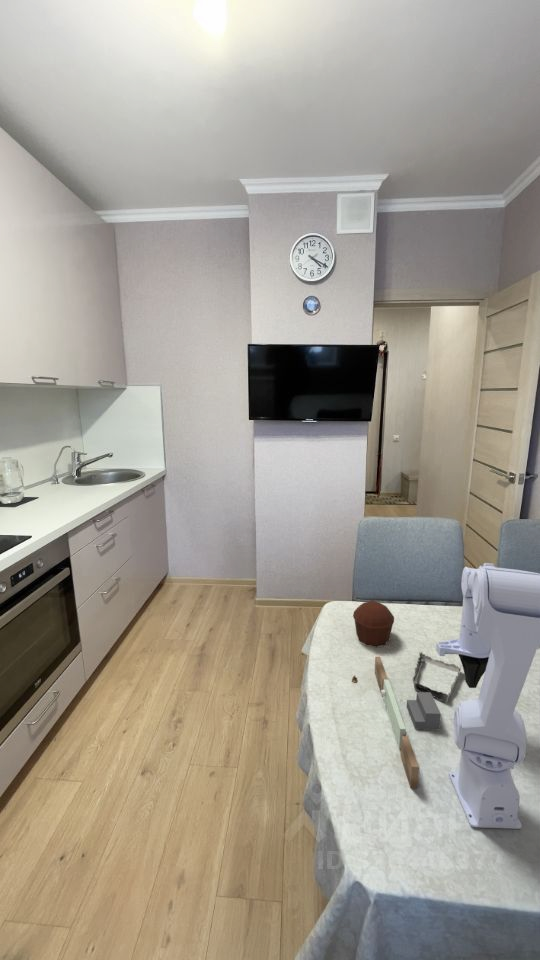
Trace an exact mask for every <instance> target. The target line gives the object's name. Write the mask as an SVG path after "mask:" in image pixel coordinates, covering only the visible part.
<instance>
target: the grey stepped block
mask: <svg viewBox="0 0 540 960" xmlns="http://www.w3.org/2000/svg"><path fill="white" fill-rule="evenodd" d="M434 698H435V697H434V696H432V694H431V692H419V691H416V699H407V700H406V710H407V712H408V714H409V717H410V720H411V722H412V726H413V727H414V729H415V730H440V727H441V717H442V713H441V711H440V709H439V706H438V705H437V703H436V700H435V699H434Z"/></svg>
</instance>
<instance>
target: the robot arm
mask: <svg viewBox="0 0 540 960" xmlns="http://www.w3.org/2000/svg"><path fill="white" fill-rule="evenodd" d="M460 584H461V593H462V597H463V598H462V599H463V600H462V608H461V617H460V618H461V621H460V630H459V631H460V633H459V637H458V638H454V639H451V640H446V641H437V642H436V648H435V650H436V653H437V654H438V656H439V657H445V655H457V656H458V658H459V659H460V662H461V663H460V664H461V667H462V669H463V673H464V680H465V684H466V685H467V686H468V688H469V689H476V688H477V687H478V685H479V683H480V680H481V679H482V678H483V679H482V682H481V687H480V690H479V693H478V698H475V699H469V700H468V699H467V700H462V701H460V702H459V705H458V706H457V708H456V709H454V713H453V714H454V715H453V738H454V744H455V745H456V746H457V749H459V750H460V758H459V759H460V760H459V769H458V770H450V771H448V776H449V778H450V780H451V781H450V782H452V785H453V787H454V789H455V790H454V791H455V792H456V795H457V797H458V799H459V801H460V802H459V803H460V804H461V806H462V809H463V811H464V813H465V816H466V818H467V820H468V823H469V825H470V827H472V828H484V829H485V828H486V829H487V828H488V829H517V830H518V829H521V828H522V823H521V821H520V819H519V817H518V814H519V809H520V807H519V805H520V799H521V797H520V793H519V790H518V788H517V786H516V783H514V779H513V776H512V770H514V769H515V768H514V767H515V764H519V765H520V764H522V762H523V761H524V759H525V757H526V750H527V748H526V745H527V741H528V739H527V732H526V731H527V730H526V726H525V721H524V719H523V718H522V714H520V713H519V712H518V711H516V710H515V709H516V707H517V704H518V702H519V699H520V696H521V693H522V690H523V688H524V686H525V682H526V680H527V677H528V674H529V671H530V670H531V669H530V668H531V666H532V663H533V660H534V657H535V655H536V652H537V651H538V650H539V649H540V572H539V573H538V572H533V571H527V570H520V569H516V568H515V569H513V568H504V567H497V566H495V563H488V562H484V563H483V565H479V567H478V568H473V567H472V568H471V567H468V566H464V568H463V569H462V574H461V583H460ZM511 769H512V770H511Z"/></svg>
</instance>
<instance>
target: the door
mask: <svg viewBox="0 0 540 960" xmlns="http://www.w3.org/2000/svg"><path fill="white" fill-rule="evenodd" d="M381 694H382V695H381ZM380 695H381V697H382V696H383V697H382V699H383V702H384V704H385V708H386V711H387V714H388V717H389V721H390V723H391V728H392V730H393V734H394V736H395V739H396V740H395V741H396V743H397V746H398V749H399V750H401V739H402V731H406V730H407V729H406V726H405V723H404V721H403V718H402V714H401V712H400V709H399V706H398V704H397V700H396V698H395V695H394V692H393V690H392V687H391V684H390V681H389V679H388V680H384V685H383V690H381V692H380ZM406 732H407V731H406Z"/></svg>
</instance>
